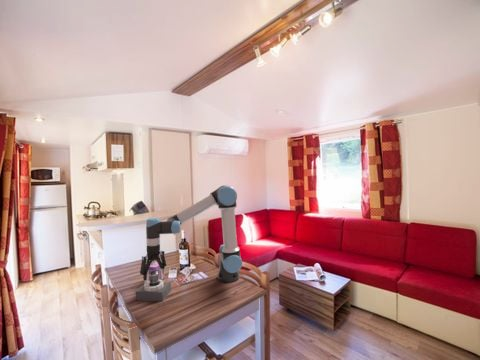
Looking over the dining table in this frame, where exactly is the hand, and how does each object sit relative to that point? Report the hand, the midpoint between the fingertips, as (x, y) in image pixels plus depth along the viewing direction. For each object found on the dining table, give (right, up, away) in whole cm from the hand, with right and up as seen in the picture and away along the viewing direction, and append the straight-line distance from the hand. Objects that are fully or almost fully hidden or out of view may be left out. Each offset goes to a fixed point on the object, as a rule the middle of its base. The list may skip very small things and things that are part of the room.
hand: (153, 282), depth 135 cm
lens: (0, -3, 0) cm, 3 cm away
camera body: (0, -8, 0) cm, 8 cm away
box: (-5, -8, +19) cm, 21 cm away
